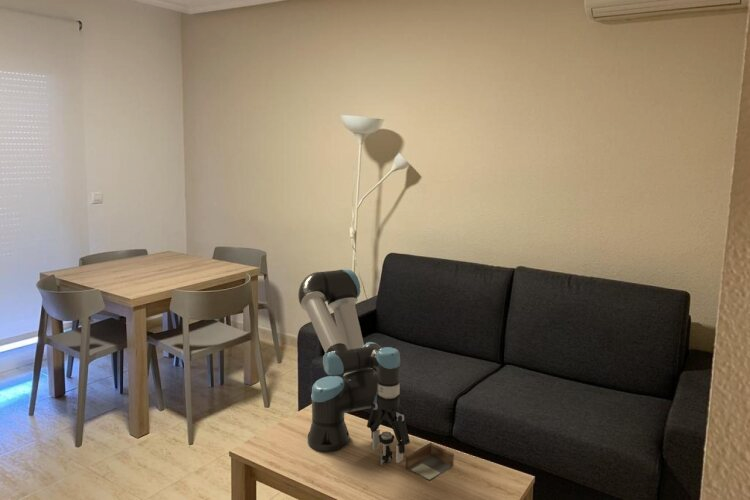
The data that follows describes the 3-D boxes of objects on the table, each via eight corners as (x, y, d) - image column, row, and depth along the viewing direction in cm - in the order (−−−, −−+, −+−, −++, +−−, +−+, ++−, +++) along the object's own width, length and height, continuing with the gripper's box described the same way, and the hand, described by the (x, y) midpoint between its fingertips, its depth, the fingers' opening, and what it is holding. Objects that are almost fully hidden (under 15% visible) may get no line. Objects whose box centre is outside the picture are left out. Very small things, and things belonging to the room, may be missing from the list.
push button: (387, 468, 200) (388, 441, 198) (373, 464, 203) (374, 437, 201) (396, 459, 206) (397, 432, 204) (383, 455, 208) (383, 428, 206)
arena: (406, 468, 200) (406, 456, 199) (430, 454, 209) (430, 442, 208) (429, 480, 193) (429, 468, 192) (453, 465, 202) (453, 453, 201)
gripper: (356, 387, 204) (356, 446, 208) (406, 409, 188) (405, 472, 192) (371, 380, 209) (371, 438, 213) (421, 401, 193) (420, 463, 198)
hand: (387, 454), depth 203 cm, fingers open, 10 cm apart
